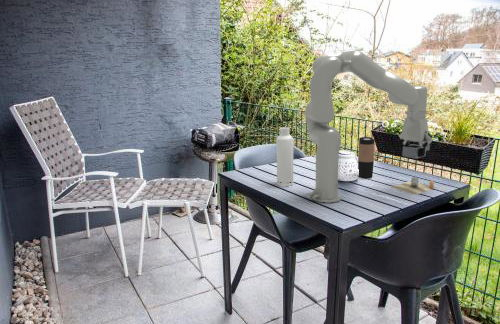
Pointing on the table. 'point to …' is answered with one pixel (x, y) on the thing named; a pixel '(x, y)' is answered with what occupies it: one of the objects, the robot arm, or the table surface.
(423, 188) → the board
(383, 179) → the table surface
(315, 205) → the table surface
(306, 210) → the table surface
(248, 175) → the table surface
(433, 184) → the dowel
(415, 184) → the post
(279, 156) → the bottle
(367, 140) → the travel mug
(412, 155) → the flange
